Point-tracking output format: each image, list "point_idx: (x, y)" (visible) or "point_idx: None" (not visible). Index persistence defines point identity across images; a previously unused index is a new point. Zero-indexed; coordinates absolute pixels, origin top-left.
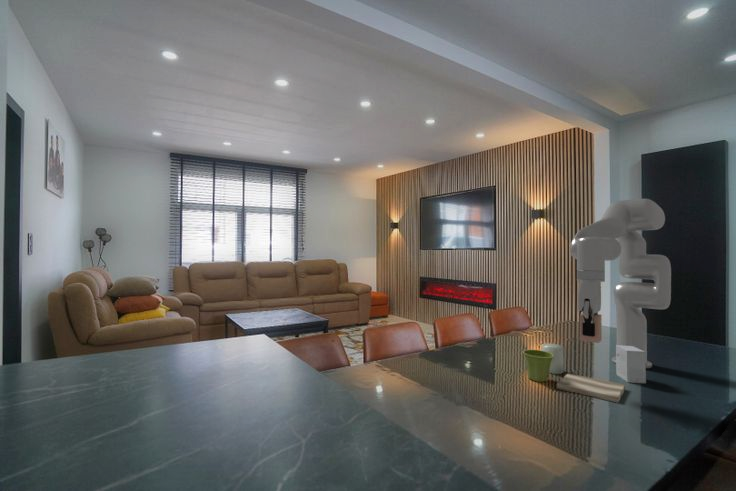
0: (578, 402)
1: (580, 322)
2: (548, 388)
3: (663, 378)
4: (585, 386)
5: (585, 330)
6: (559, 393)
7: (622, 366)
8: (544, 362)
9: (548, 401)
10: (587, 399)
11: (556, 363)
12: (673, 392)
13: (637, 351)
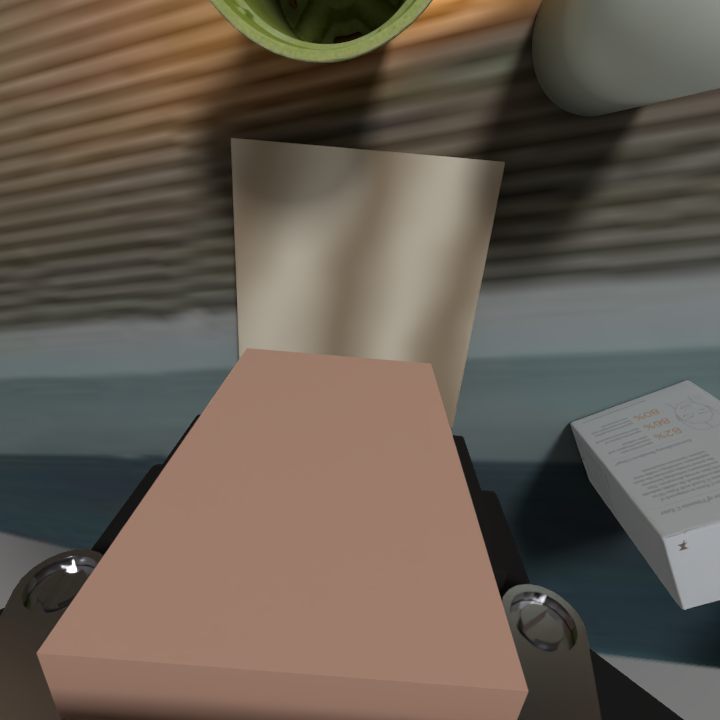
0: (121, 267)
1: (152, 498)
2: (205, 96)
3: None
4: (295, 283)
5: (145, 484)
6: (171, 169)
7: (653, 441)
8: (238, 2)
9: (9, 142)
10: (193, 296)
11: (568, 61)
12: (520, 544)
13: (672, 580)
